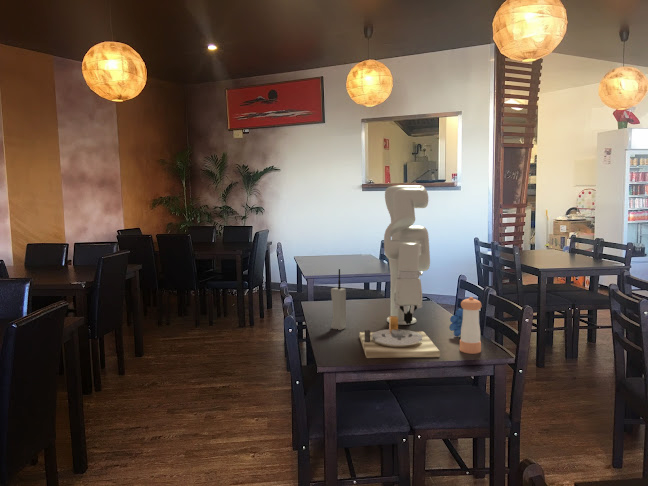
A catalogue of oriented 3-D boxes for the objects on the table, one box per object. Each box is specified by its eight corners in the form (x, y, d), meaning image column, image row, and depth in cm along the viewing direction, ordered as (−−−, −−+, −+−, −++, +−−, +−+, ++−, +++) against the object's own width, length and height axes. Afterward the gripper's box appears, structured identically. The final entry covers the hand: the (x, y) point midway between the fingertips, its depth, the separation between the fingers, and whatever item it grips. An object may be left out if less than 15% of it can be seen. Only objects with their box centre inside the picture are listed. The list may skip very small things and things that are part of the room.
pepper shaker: (466, 354, 174) (467, 299, 172) (455, 348, 181) (456, 295, 179) (485, 352, 176) (486, 298, 174) (473, 346, 183) (474, 294, 181)
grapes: (475, 333, 200) (476, 304, 199) (481, 338, 193) (481, 307, 192) (446, 334, 200) (446, 304, 199) (450, 338, 193) (451, 308, 192)
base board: (359, 337, 196) (359, 322, 196) (423, 336, 197) (423, 321, 196) (366, 357, 171) (366, 340, 171) (439, 356, 172) (439, 339, 171)
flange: (369, 333, 193) (369, 316, 192) (416, 332, 193) (416, 315, 193) (375, 347, 175) (375, 329, 174) (427, 346, 175) (427, 328, 174)
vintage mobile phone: (336, 326, 212) (336, 267, 210) (346, 328, 209) (345, 268, 207) (331, 328, 209) (330, 268, 207) (340, 330, 206) (340, 269, 204)
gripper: (425, 273, 194) (425, 320, 195) (387, 273, 193) (386, 320, 195) (430, 276, 186) (430, 325, 188) (390, 277, 186) (390, 325, 187)
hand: (408, 322), depth 191 cm, fingers closed
